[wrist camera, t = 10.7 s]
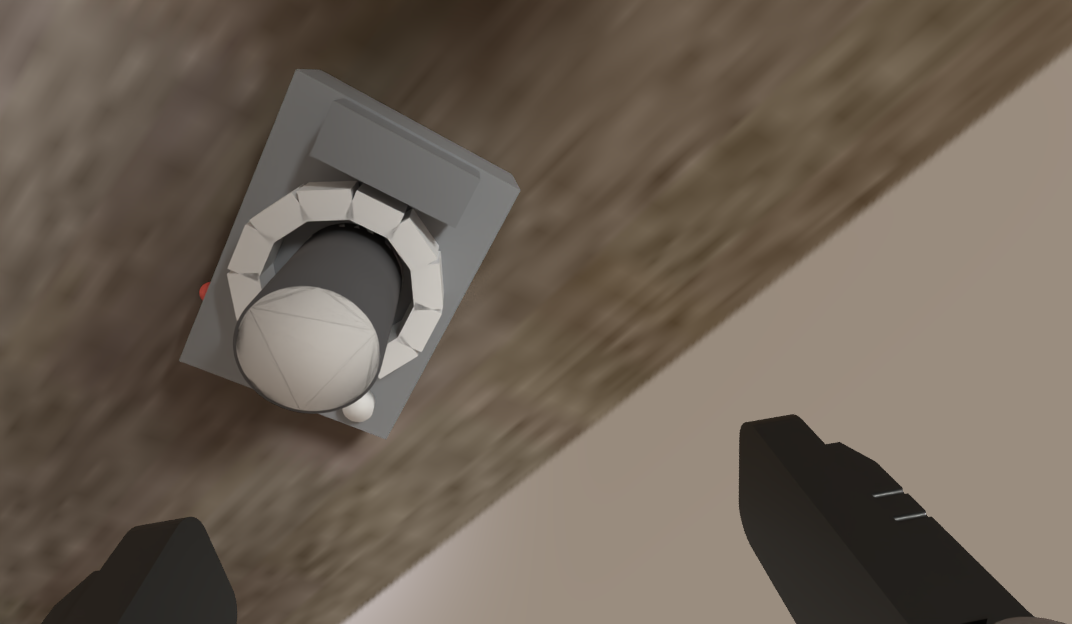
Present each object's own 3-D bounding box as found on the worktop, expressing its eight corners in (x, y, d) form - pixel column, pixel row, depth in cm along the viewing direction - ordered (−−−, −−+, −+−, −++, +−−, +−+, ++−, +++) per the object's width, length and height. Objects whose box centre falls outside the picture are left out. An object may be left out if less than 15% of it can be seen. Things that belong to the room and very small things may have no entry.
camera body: (307, 62, 27) (262, 59, 21) (511, 174, 30) (526, 200, 24) (204, 317, 31) (138, 380, 25) (394, 394, 34) (380, 468, 28)
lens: (273, 258, 26) (200, 332, 18) (362, 203, 25) (323, 255, 18) (339, 339, 28) (296, 436, 20) (423, 289, 27) (411, 369, 20)
